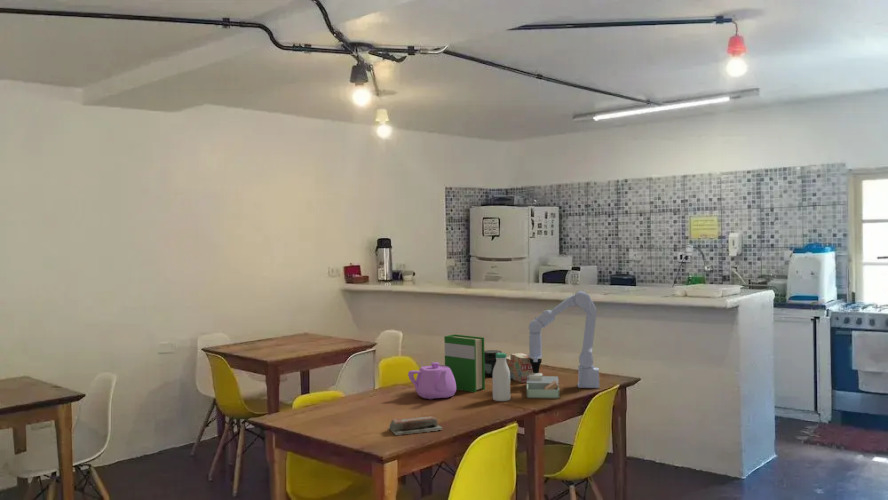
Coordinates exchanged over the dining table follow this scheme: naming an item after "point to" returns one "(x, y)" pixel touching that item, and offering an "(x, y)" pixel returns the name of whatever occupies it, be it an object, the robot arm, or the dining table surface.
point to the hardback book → (466, 361)
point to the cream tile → (535, 376)
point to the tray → (542, 393)
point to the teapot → (434, 381)
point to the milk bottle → (501, 379)
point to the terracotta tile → (551, 386)
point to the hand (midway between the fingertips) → (535, 374)
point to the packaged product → (414, 425)
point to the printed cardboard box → (519, 366)
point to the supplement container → (490, 361)
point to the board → (541, 382)
